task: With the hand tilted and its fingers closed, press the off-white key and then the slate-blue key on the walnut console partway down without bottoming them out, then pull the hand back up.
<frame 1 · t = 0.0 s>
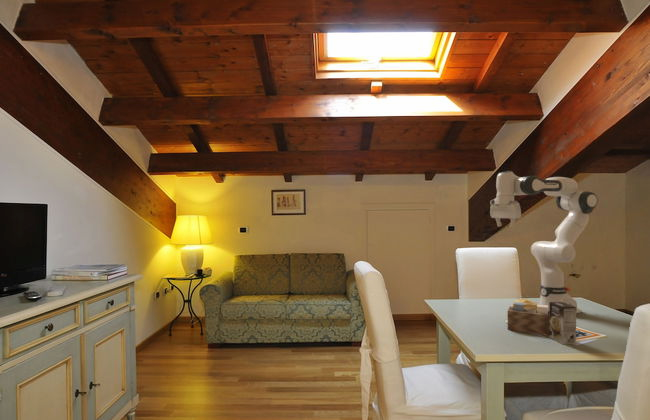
hand: (505, 226, 214), 48 cm above the table, tool pointing down, fingers open, 8 cm apart
sculpture: (523, 319, 206), on the table
coffee box: (562, 341, 172), on the table
blue key: (518, 307, 191), point 10 cm above the table, slide at 0.0 cm
white key: (542, 309, 186), point 10 cm above the table, slide at 0.0 cm
console: (530, 329, 188), on the table
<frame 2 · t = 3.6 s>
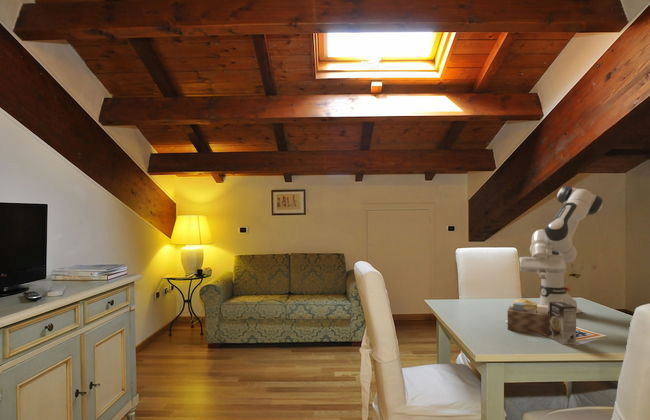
hand: (543, 278, 189), 24 cm above the table, tool tilted 45°, fingers closed
nothing on the table moved.
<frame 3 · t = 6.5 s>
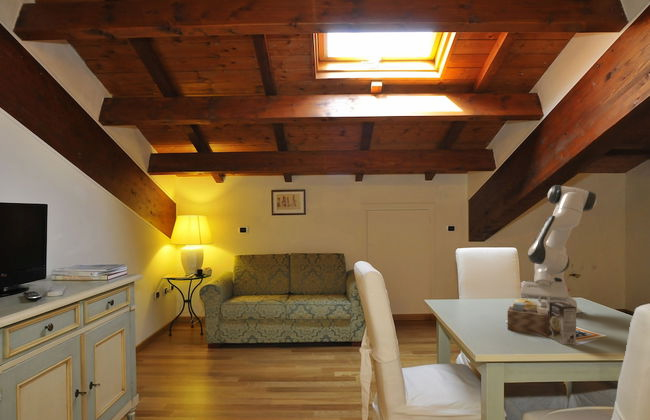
hand: (544, 306, 185), 12 cm above the table, tool tilted 45°, fingers closed
white key: (542, 311, 186), point 10 cm above the table, slide at 0.7 cm, touching gripper
everything else where it was.
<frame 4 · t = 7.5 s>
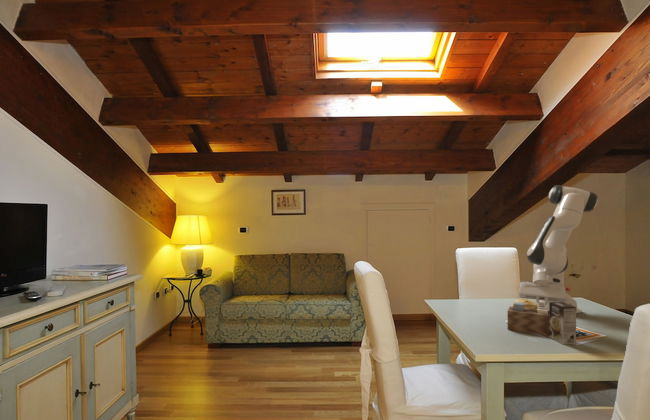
hand: (541, 306, 186), 12 cm above the table, tool tilted 45°, fingers closed
white key: (542, 312, 186), point 9 cm above the table, slide at 1.4 cm
everything else where it was.
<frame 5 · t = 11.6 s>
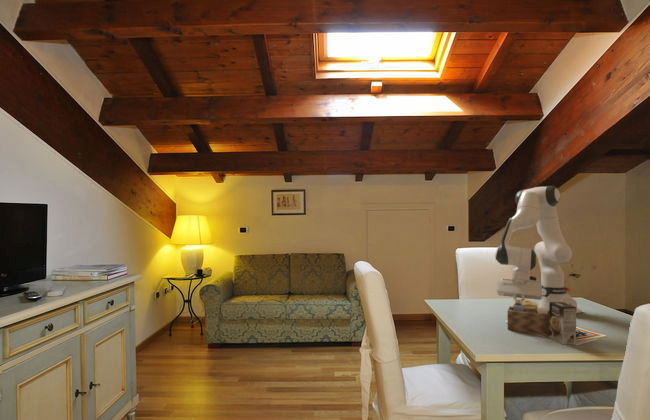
hand: (518, 303, 191), 12 cm above the table, tool tilted 45°, fingers closed, pressing on blue key
blue key: (518, 308, 191), point 9 cm above the table, slide at 0.9 cm, touching gripper
everything else where it was.
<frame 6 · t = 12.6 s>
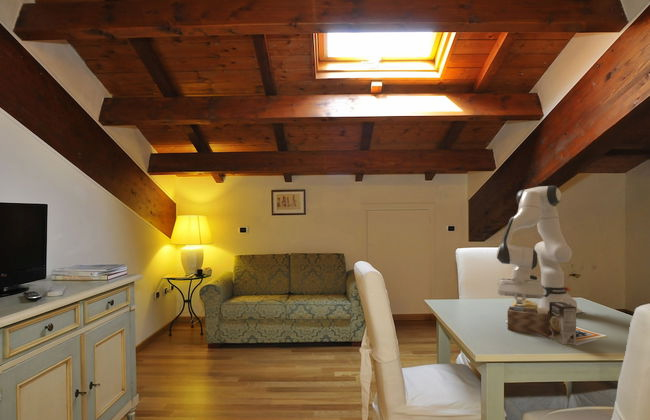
hand: (519, 303, 190), 12 cm above the table, tool tilted 45°, fingers closed
blue key: (518, 310, 191), point 9 cm above the table, slide at 1.4 cm
everything else where it was.
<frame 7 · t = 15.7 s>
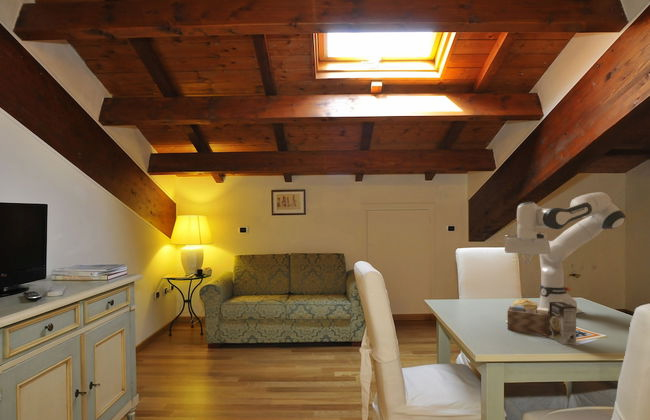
hand: (527, 262, 195), 31 cm above the table, tool pointing down, fingers closed
nothing on the table moved.
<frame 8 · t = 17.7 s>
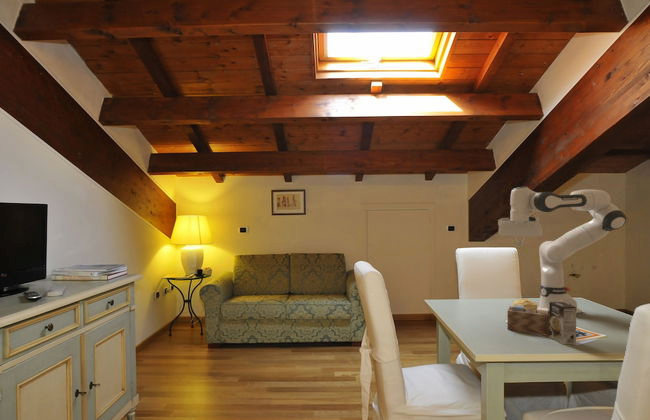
hand: (519, 244, 204), 39 cm above the table, tool pointing down, fingers closed
nothing on the table moved.
at the end: white key slide at 1.4 cm; blue key slide at 1.4 cm; coffee box moved 0.2 cm from its start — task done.
